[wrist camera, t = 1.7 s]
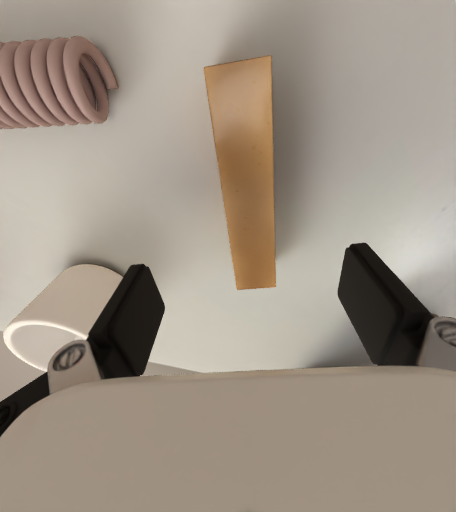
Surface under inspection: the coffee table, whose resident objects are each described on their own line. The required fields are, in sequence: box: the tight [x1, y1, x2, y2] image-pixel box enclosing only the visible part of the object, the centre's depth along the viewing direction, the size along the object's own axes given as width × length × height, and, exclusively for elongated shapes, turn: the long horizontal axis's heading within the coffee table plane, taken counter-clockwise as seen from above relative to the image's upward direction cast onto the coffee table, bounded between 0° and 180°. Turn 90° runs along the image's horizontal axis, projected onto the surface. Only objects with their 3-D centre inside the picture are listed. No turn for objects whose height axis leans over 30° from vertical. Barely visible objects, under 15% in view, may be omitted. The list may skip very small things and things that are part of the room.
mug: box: [3, 264, 123, 372], centre depth 27 cm, size 12×10×9 cm
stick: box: [204, 55, 276, 290], centre depth 20 cm, size 4×18×4 cm, turn 8°
